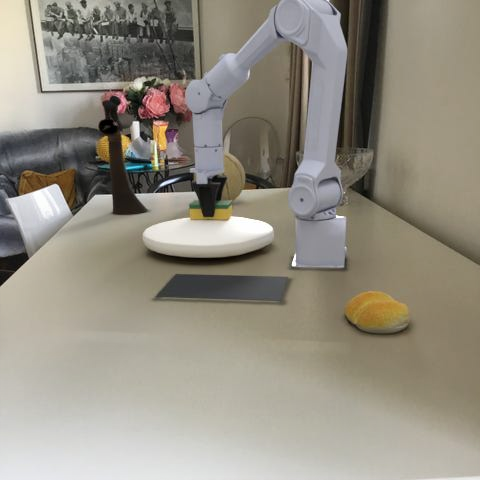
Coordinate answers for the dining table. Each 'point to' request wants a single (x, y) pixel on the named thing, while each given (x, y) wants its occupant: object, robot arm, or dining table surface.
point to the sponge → (221, 210)
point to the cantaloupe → (231, 177)
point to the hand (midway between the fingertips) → (211, 213)
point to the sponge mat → (225, 287)
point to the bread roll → (377, 313)
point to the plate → (208, 237)
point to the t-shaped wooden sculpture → (118, 158)
